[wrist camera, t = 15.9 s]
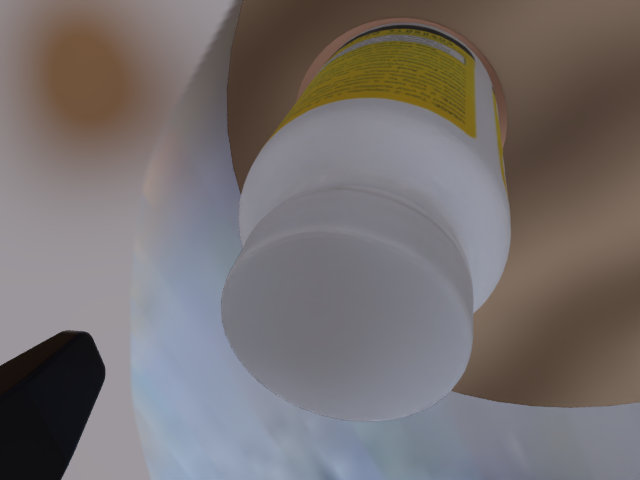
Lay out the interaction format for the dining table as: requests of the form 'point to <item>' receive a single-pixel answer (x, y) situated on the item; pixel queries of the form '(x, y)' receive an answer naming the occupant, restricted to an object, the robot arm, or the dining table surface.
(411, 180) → the supplement bottle
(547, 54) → the turntable
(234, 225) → the dining table surface
